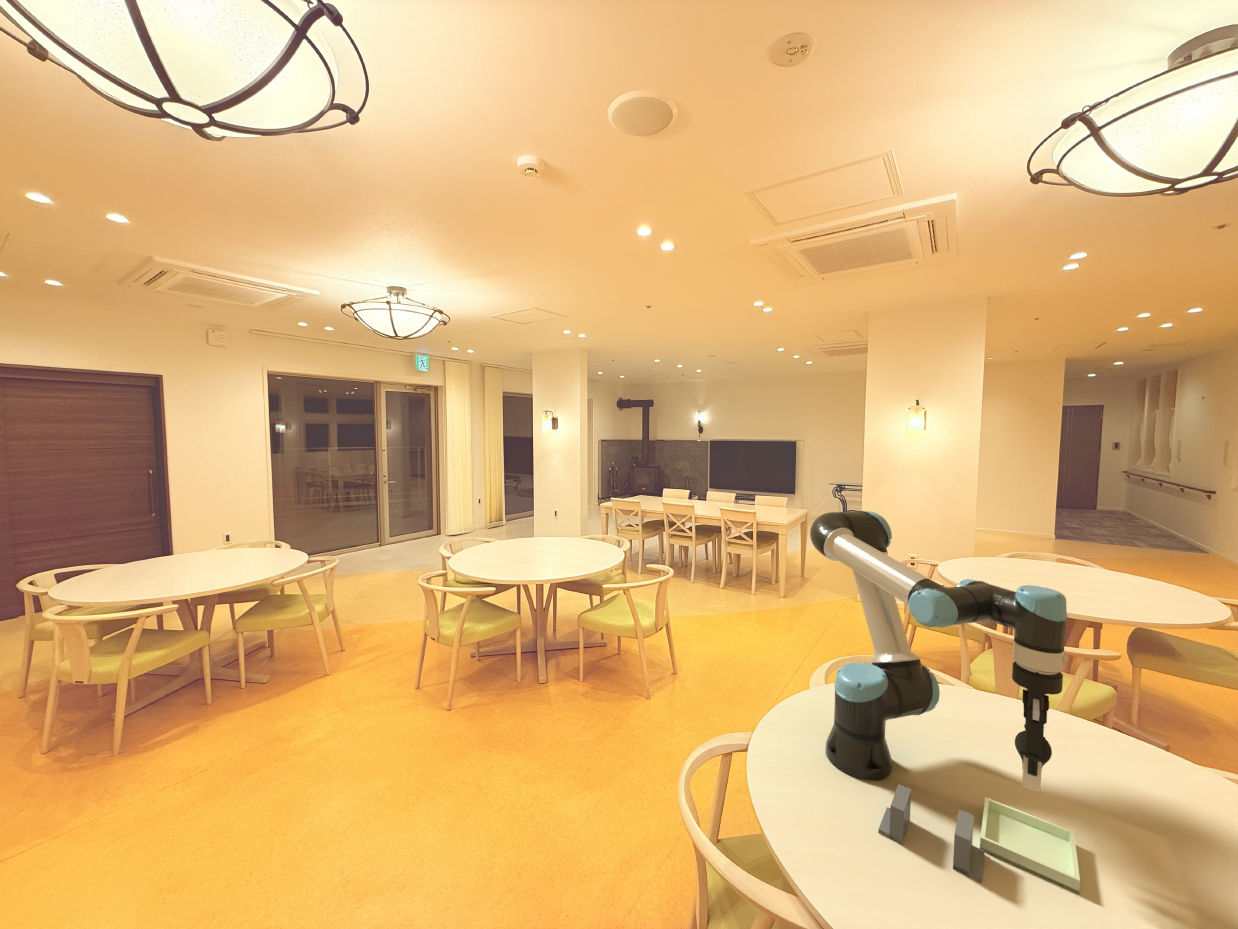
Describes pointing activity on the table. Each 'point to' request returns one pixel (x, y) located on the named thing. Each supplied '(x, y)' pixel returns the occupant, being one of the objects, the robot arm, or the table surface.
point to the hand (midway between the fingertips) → (1030, 779)
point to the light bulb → (1020, 745)
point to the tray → (1030, 844)
